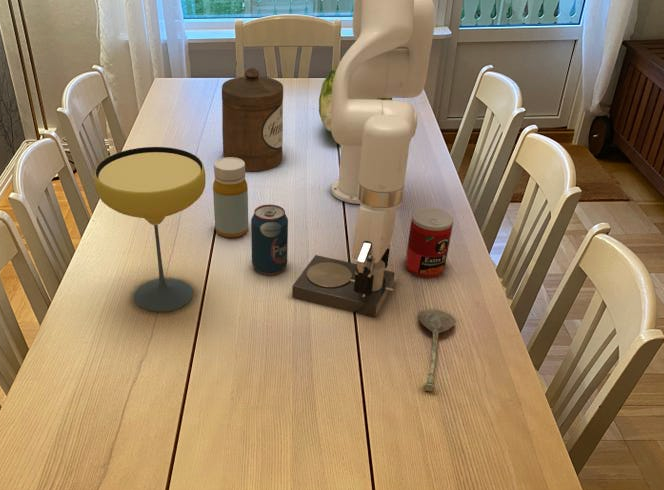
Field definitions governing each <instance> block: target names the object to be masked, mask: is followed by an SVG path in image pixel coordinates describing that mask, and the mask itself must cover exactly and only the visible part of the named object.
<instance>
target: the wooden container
mask: <svg viewBox="0 0 664 490" xmlns="http://www.w3.org/2000/svg"><path fill="white" fill-rule="evenodd" d="M221 109H222V110H221V121H222V122H221V124H222V125H221V126H222V128H221V130H222V155H223V156H222V158H227V157H233V158H239V159H241V160H243V161H244V163H245V172H261V171H266V170H270V169H274V168H275V167H277V166H278V165H280V164H281V163H282V161H283V141H284V140H283V139H284V137H283V136H284V84H283V83H282V82H280V81H279V80H277V79H275V78H272V77H267V76H260V71H259V70H258V69H256V68H254V67H251V68H248V69H246V70H245V72H244V76H239V77H234V78H231V79H228V80H226V81H224V82H223V83H222V85H221Z"/></svg>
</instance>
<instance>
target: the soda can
mask: <svg viewBox="0 0 664 490" xmlns="http://www.w3.org/2000/svg"><path fill="white" fill-rule="evenodd" d="M250 225H251V226H250V230H251V232H250V233H251V234H250V235H251V264H252V266H253V267H254V268H255V270H256V271H257V272H258V273H260V274H263V275H277V274H279V273H281V272H283V270H284V269H285V267H286V266H287V264H288V247H289V246H288V244H289V219H288V216H287V214H286V210H285V209H284V208H283V207H282V206H279V205H277V204H262V205H259V206H257V207H256V208H255V209H254V212H253V215H252V217H251V219H250Z"/></svg>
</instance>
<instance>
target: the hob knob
mask: <svg viewBox="0 0 664 490" xmlns="http://www.w3.org/2000/svg"><path fill="white" fill-rule="evenodd" d="M369 258H371V259H373V257H371V256H370V257H369ZM370 264H371V263H369V262H366V267H368V269H369V268H370ZM385 269H386V268H385V263H384V262H383V261H382V260H381V259H380V261H379V262H377V263H375V266H374V270H373V273H372V275H374V280H373V289H372V291H377V290H380V289H381V288H382V286H383V277H384V270H385Z"/></svg>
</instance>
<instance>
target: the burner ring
mask: <svg viewBox="0 0 664 490" xmlns="http://www.w3.org/2000/svg"><path fill="white" fill-rule="evenodd" d="M307 278H308V280H309V281H310V282H311V283H313V284H315V285H317V286H320V287H325V288H337V287H341V286H344V285H346V284H348V283H349V282H350V280H351V278H352V273H351V271H350V270H349V269H348V268H347V267H345V266H343V265H341V264H337V263H331V262H325V263H319V264H315V265H313V266H312V267H310V268H309V269H308V271H307Z"/></svg>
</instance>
